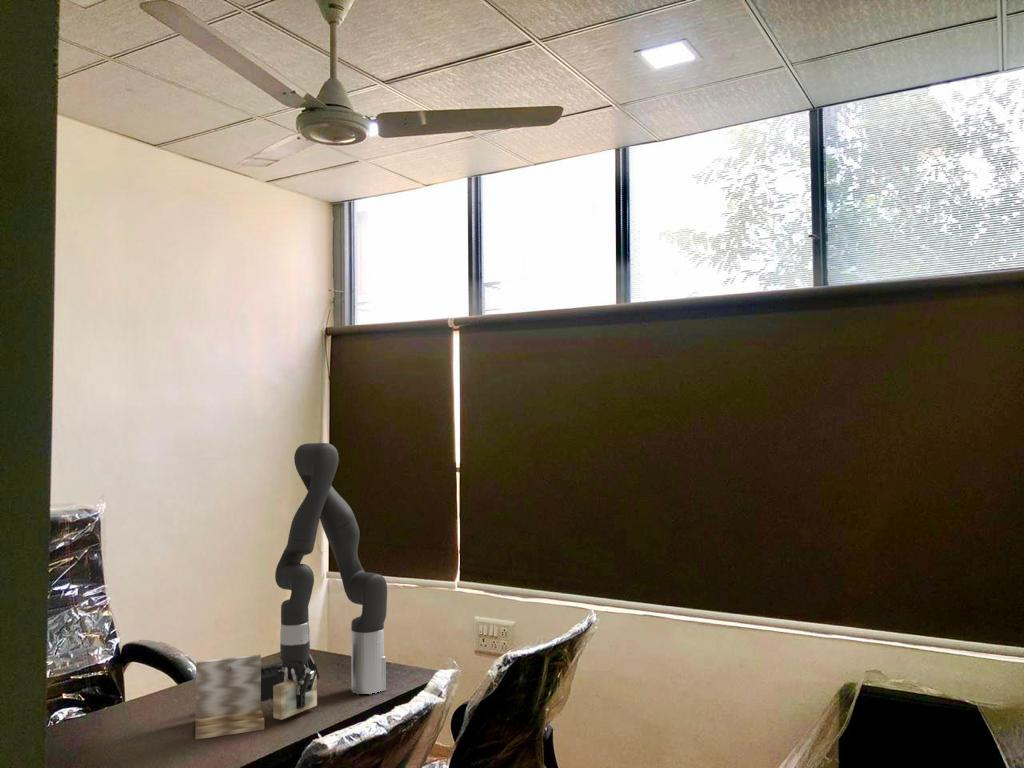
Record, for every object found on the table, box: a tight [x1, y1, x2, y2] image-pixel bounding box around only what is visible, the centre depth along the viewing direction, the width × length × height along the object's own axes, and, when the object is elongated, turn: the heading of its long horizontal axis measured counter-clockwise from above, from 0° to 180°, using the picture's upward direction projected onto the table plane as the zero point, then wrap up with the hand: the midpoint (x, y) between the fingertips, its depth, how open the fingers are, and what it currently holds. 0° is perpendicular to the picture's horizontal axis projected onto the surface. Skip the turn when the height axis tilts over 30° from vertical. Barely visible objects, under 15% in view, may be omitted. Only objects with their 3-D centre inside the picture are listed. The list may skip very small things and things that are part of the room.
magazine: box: [261, 654, 320, 702], centre depth 222 cm, size 17×3×30 cm
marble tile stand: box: [194, 654, 265, 740], centre depth 202 cm, size 16×14×15 cm
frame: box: [272, 675, 318, 721], centre depth 207 cm, size 12×3×8 cm, turn 147°
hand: (295, 706), depth 207 cm, fingers closed on frame, 3 cm apart
